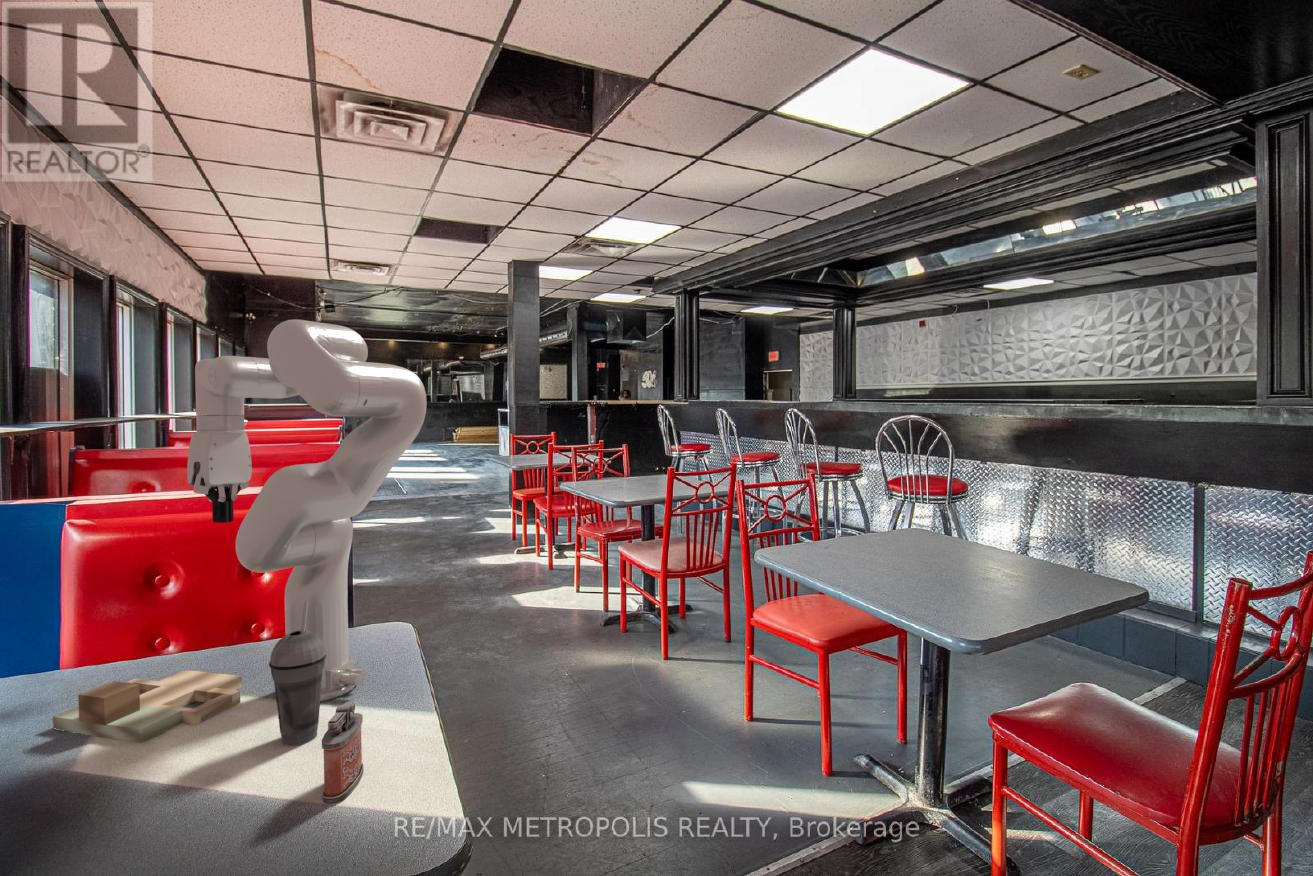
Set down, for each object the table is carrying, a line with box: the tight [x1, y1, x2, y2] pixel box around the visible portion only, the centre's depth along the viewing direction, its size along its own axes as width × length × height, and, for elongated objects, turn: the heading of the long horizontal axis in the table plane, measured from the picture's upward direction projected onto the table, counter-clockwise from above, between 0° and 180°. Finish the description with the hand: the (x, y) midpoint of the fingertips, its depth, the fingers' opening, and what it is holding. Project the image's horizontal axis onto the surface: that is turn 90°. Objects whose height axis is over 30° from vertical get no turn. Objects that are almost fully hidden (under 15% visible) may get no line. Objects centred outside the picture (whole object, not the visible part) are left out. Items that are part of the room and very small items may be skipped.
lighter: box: [321, 700, 365, 806], centre depth 81 cm, size 8×3×10 cm, turn 5°
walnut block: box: [77, 680, 140, 725], centre depth 96 cm, size 5×5×4 cm
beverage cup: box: [268, 601, 326, 746], centre depth 93 cm, size 7×7×20 cm
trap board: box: [52, 669, 243, 744], centre depth 103 cm, size 22×19×2 cm
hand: (223, 521), depth 122 cm, fingers closed
